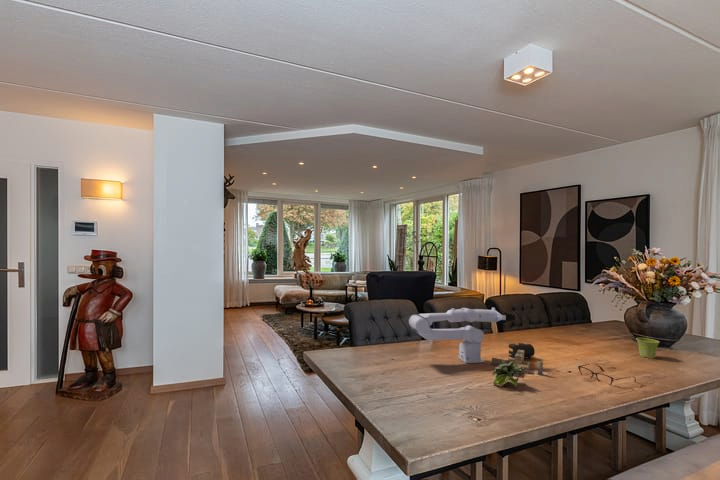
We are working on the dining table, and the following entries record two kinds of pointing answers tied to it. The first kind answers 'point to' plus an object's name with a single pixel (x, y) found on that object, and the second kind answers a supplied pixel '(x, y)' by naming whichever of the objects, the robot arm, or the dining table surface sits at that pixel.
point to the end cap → (527, 349)
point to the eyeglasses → (601, 374)
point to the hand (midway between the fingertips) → (509, 316)
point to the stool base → (524, 365)
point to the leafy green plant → (506, 373)
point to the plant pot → (647, 347)
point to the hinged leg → (519, 356)
